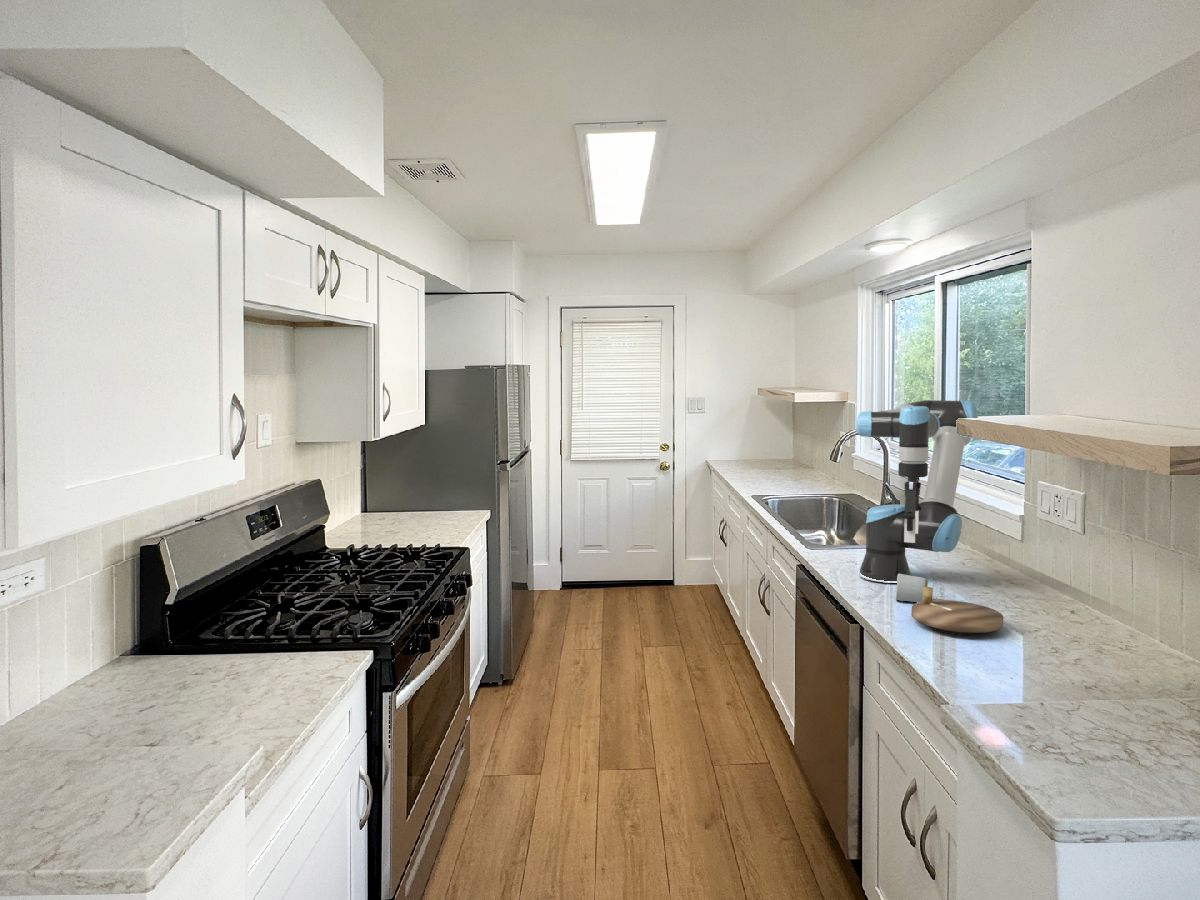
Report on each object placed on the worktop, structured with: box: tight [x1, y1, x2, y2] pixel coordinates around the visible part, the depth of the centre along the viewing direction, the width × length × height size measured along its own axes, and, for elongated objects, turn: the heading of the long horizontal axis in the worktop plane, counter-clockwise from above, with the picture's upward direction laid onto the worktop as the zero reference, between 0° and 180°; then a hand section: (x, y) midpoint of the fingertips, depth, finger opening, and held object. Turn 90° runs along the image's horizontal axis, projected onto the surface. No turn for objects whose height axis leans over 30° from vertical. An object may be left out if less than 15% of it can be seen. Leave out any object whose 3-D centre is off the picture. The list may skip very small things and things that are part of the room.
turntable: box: [910, 586, 1004, 633], centre depth 188 cm, size 21×21×6 cm
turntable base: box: [928, 626, 986, 636], centre depth 188 cm, size 14×14×2 cm
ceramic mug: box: [895, 574, 929, 603], centre depth 211 cm, size 11×8×8 cm
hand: (911, 537), depth 207 cm, fingers open, 13 cm apart
